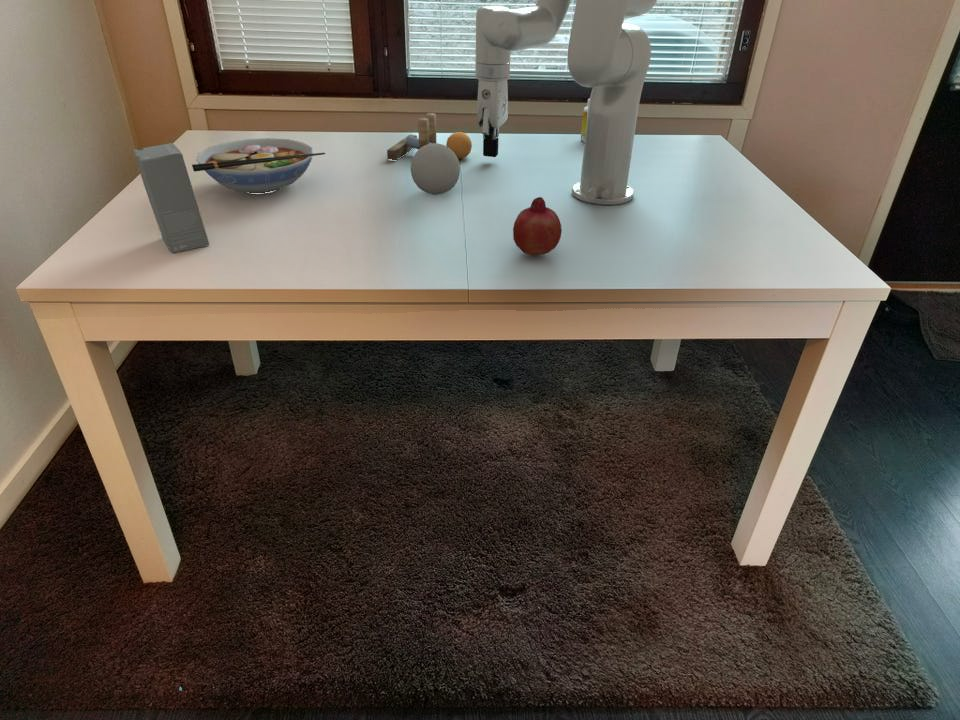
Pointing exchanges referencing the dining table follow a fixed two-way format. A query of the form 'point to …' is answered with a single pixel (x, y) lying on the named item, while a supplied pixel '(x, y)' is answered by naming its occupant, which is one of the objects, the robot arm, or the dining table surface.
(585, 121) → the supplement bottle
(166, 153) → the skincare box
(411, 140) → the front pin
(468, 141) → the orange ball
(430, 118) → the pin
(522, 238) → the fruit
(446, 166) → the ball
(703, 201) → the dining table surface
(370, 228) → the dining table surface
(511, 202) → the dining table surface
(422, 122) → the pin
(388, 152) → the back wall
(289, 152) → the ramen bowl
